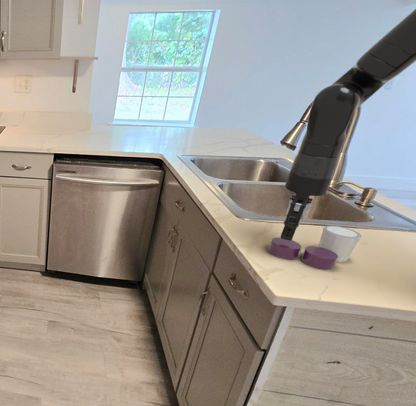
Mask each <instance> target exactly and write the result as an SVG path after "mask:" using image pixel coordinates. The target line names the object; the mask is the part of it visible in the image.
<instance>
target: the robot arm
mask: <svg viewBox="0 0 416 406" xmlns="http://www.w3.org/2000/svg"><path fill="white" fill-rule="evenodd" d="M415 62H416V8H415V9H414V10H413V11H411V12H410V13H409V14H408V15H406V17H404V18H403V19H402V20H401V21H400V22H399V23H397V24H396V25H395V26H394V27H393V28H391V29H390V30H389V31H388V32H387V33H386V34H385V35H384V36H382V37H381V38H380V39H379V40H378V41H377V42H375V43H374V44H373V45H372V46H371V47H370V48H369V49H367V51H366V52H364V53H363V54H362V55H361V56H360V58H358V60H357V61H356V62H355V64H354V65H353V66H352V67H351V68H350V69H349V70H347V71H346V72H345V73H344V74H342V76H340V77H339V78H338V79H336V80H335V81H334V82H333V83H332V84H330V85H329V86H325V87H324V88H322V89H321V90H320V91H319V92H318V93H317V94H316V95H315V96H314V99H313V100H312V103H311V106H310V110H309V114H308V119H307V123H306V130H305V132H304V136H303V137H302V140H301V143H300V145H299V149H298V151H297V153H296V155H295V157H294V159H293V162H292V165H291V167H290V170H289V173H288V176H287V179H286V181H285V184H284V187H285V189H286V190H287V191H289V192H291V193H294V194H291V196H290V198H289V200H288V207H287V209H286V212H285V216H286V218H285V220H284V221H283V225H284V226H283V229H282V231H281V235H280V238H282V239H285V240H289V241H291V240H293V238H294V235H295V232H296V230H297V229H298V227H299V226H300V221H303V220H304V218H305V217H306V214H307V211H308V210H310V207H311V204H312V202H313V201H314V198H311V197H321V196H324V195H326V194H327V192H328V190H329V187H330V184H331V183H332V179H333V177H334V174H335V171H336V169H337V166H338V162H339V158H340V155H341V152H342V150H343V147H344V145H345V143H346V138H347V132H346V131H347V130H348V127H349V124H350V122H351V120H352V117H353V115H354V112H355V111H356V109H358V108H359V107H360V106H361V105H363V104H364V103H365V102H367V101H368V100H369V99H370V98H371V97H372V96H373V95H374V94H376V93H377V92H378V91H379V90H380V89H381V88H382V87H383V86H384V85H385V84H387V83H388V82H389V81H392V80H393V79H395V78H396V77H397V76H398V75H401V73H402V72H404V71H405V70H406V69H408V68H409V67H410V66H411V65H413V64H414V63H415Z"/></svg>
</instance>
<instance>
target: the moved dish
mask: <svg viewBox="0 0 416 406" xmlns="http://www.w3.org/2000/svg"><path fill="white" fill-rule="evenodd" d="M267 249H268V250H267V251H268V253H270V254H271V255H272V256H275V257H278V258H281V259H284V260H297V259H298V258H299V255H300V252H301V250H302V245H301V244H300V243H299V242H297V241H295V240H293V239H292V240H291V241H289V240H285V239H282V238H281V237H273V238H272V239H271V240H270V243H269V246H268V248H267Z"/></svg>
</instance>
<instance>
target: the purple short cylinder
mask: <svg viewBox="0 0 416 406" xmlns="http://www.w3.org/2000/svg"><path fill="white" fill-rule="evenodd" d="M337 258H338V255H337V254H336V253H334V252H333V251H330V250H328V249H325V248H321V247H319V246H315V245H310V246H306V247H305V248H304V251H303V253H302V256H301V257H300V259H301V261H302V262H303V263H304V264H306V265H307V266H309V267H312V268H315V269H319V270H329V271H330V270H333V269H334V268H335V265H336V263H337V262H338V261H337Z"/></svg>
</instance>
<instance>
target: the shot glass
mask: <svg viewBox="0 0 416 406" xmlns="http://www.w3.org/2000/svg"><path fill="white" fill-rule="evenodd" d="M361 238H362V235H361V234H360V233H359V232H358V231H356V230H354V229H351V228H348V227H344V226H340V225H324V226H323V227H322V231H321V236H320V240H319V244H318V247H321V248H325V249H328V250H330V251H333V252H334V253H336V254H337V255H338V258H337V261H336V262H338V263H345V262H347V261H348V260H349V257H350V256H351V254H352V253H353V251H354V249H355V248H356V246H357V244H358V243H359V242H360V240H361Z"/></svg>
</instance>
